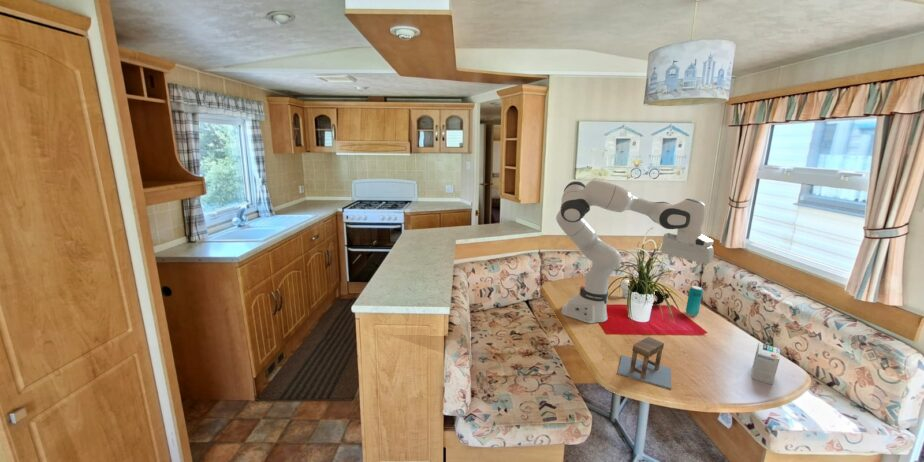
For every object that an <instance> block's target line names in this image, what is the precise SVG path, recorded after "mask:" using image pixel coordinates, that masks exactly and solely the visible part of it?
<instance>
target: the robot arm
mask: <svg viewBox="0 0 924 462" xmlns="http://www.w3.org/2000/svg"><path fill="white" fill-rule="evenodd" d="M592 206H593V207H594V206H595V207H599V208H601V209H604V210H607V211H610V212H614V213H615V212H616V213H622V212H625V211H632V212H635V213H638V214H641V215H645V216H647V217H648V218H649V219H650V220H652V221H653V222H654V223H655V224H658V225H659V226H661V227H662V228H663V229H667V230H677V232H676V234H675V233H670V232H667V233H664V234H663V236H662V243H661V246H660V252H661V253H662V254H665V255H667V258H668V260H669V265H670V266H675V263H676V261H675V260H674V258H673V257H676V258H681V259H684V260H688V261H691V262H696V263H695V265H696V266H692V270H691V271H692V272H695V273H697V272H698V271H699V267H701V266H702V265H703V264H704V265H710V264H711V263H713V261H714V255H715V254H714V253H715V251H714V249H715V248H714V247H713V246H712V245H714V242H715V241H714V239H712V238H709V237H708V236H706V235H704V234H703V225H704V223H705V218H706V204H705V203H704V202H703V201H700V200H697V199H694V198H693V199H692V198H685V199H684V200H682V201H680V202H677V203H675V204H674V203H673V204H671V203H669V202H667V201H655V202H654V201H649V200H647V199H643V198H641V197H637V196H635V195H633V194H632V193H631V192H630V191H629V190H627V189H625V188H624V187H621V186H619V185H617V184H613V183H610V182H606V181H601V180H595V179H594V180H593V179H592V180H590V181H589V182H587V183H586V184H584V183H583V182H581V181H577V180H576V181H571V182H569V183H568V184H567V185H565V187H564V189H563V193H562V196H561V205H560V210H559V211H558V212H557V213H556V217H555V219H556V223H557V224H558V226H559V227H560V229H562V231H563V232H564V234H565V235H566V236H567V237H568V238H569V239H570V240H571V241H572V242H573V243H574V244H575V245H576V246H577V248H578V250H579V251H581V253H582V254H583V256H584V257H585V258H586V259H588V260H589V261H591V267H590V270H588V271H587V272H586V273H585V276H584V277H585V278H584V279H585V280H584V285H583V284H582V285H581V286H580V287H579V293H578V294H575V295H574V296H571V297H570V298H569V300H568V301H567V303H566V304H564V305H563V306H562V308H561V311H560V312H561V314H562V315H563V316H566V317H568V318H571V319H575V320H578V321H580V322H584V323H587V324H594V323H595V324H596V323H604V322H606V321H607V320H608V312H607V303H608V300H609V299H608V298H609V291H608V290H609V284H610V278H611V275H612V272H614V270H615V269H617V268H618V267H619V266H620V265H621V263H622V255H621V253H620V252H619V251H618V250H617V249H616V248H615V247H614V246H612V245H610V244H608V243H606V242H605V241H604V240H602V239H600V237H599V236H598V234H597V232H596V230H595V229H594V227H593V226H592V225H591V224H590V223H589V222H588V221H587V220H586V219H585V218H584V217H585V216H586V214H588V213H589V212H590V210H591V207H592Z"/></svg>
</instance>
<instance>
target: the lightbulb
mask: <svg viewBox="0 0 924 462" xmlns="http://www.w3.org/2000/svg"><path fill="white" fill-rule="evenodd" d="M629 280H630V279H622V280H621V282H620V283H619V284H620V285H621V286H620V289H621V290H622V298H624V299H626V298H628V295H629V292H628V283H629ZM627 294H628V295H627Z"/></svg>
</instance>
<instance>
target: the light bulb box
mask: <svg viewBox="0 0 924 462" xmlns="http://www.w3.org/2000/svg"><path fill="white" fill-rule="evenodd" d="M780 353H781V349H780V348H779V347H776V346H772V345H768V344H765V343H762V342H758V344H757V347H756V351H755V356H754V359H753V363H752V369H751V379H755V380H757V381H761V382H763V383H766V384H769V385H772V386H773V384H774V381H775V377H776V374H777V370H778V366H779V363H780V360H781V357H780V356H781V354H780Z"/></svg>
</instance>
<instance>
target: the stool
mask: <svg viewBox="0 0 924 462" xmlns="http://www.w3.org/2000/svg"><path fill="white" fill-rule="evenodd" d="M664 346H665V343H664V342H662V341H660V340H657V339H655V338H653V337H651V336H647V337H646V338H643V339H641V340H639V341H638V342H636V343H634V344H633V346H632V352H631V353H632V354H631V358H632V360H631V366H630V372H631V373H634V371H636V372H638V373H639V374H641V378H642V379H645V377H646V371H647V365H648V363H650V364H652V365H654V366H655V368H654V369H655V370H657V371H658V370H659V366H661V360H662V353H663V350H664ZM638 355H640V356H642V357H643V359H642V361H643V366H642V371H641V370H639V369H637V368H635V365H636V359H638V358H637V356H638ZM654 355H655V356H656V357H655V361H653V360H650V357H652V356H654Z"/></svg>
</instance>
